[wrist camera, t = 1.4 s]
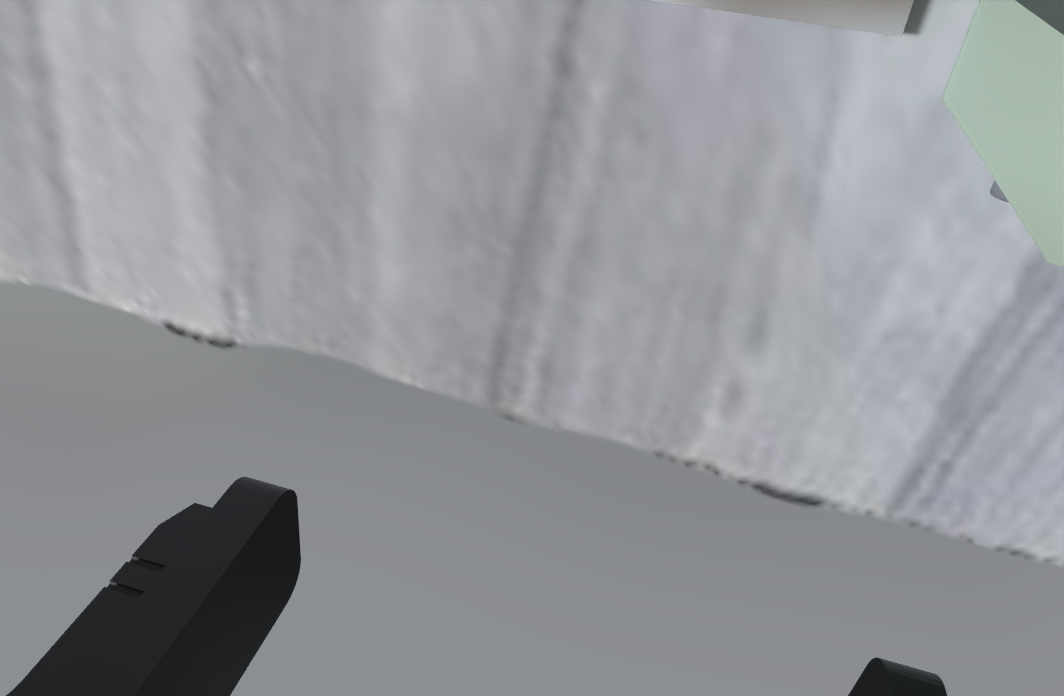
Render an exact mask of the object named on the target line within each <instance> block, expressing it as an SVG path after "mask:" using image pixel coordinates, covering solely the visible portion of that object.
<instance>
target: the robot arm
mask: <svg viewBox="0 0 1064 696" xmlns="http://www.w3.org/2000/svg"><path fill="white" fill-rule="evenodd" d="M297 506H298V505H297V496H296V493H295V492H294V491H293V490H290V489H287V488H283V487H279V486H276V485H273V484H269V483H265V482H262V481H259V480H255V479H252V478H248V477H241V478H239V479H237V480H236V481H235V482H234V483H233V484H232V485H231V486H230V487H229V488H228V490H227V491H226V492H225V493H224V494H223V496H222V497H221V498H220V499H219V501H218V502H217V503H216V504H215V506H214V507H213V508H210V507H207V506H204V505H200V504H196V503H194V504H192V505H191V506H189V507H188V508H186V509H184V510H183V511H181V512H179V513H178V514H176V515H174V516H173V517H171V518H170V519H168V520H166V521H165V522H163V523H161V524H160V525H158V527H157V528H156V529H155V530H154V531H153V532H152V533H151V534H150V536H149V537H148V538H147V539H146V540H145V541H144V543H143V544H142V545H141V546H140V547H139V548H138V549H137V550H136V552H135V553H134V554H133V555H132V559H131V561H130V562H126V563H125V564H124V565H123V566H122V568H121V569H120V570H119V571H118V572H117V573H116V574H115V575H114V577H113V578H112V579H111V580H110V584H109V586H108V587H107V588H106V587H104V588H103V589H102V590H101V591H100V593H99V594H98V595H97V596H96V597H95V599H94V600H93V601H92V602H91V603H90V604H89V605H88V606H87V608H86V609H85V610H84V611H83V612H82V613H81V614H80V615H79V617H78V618H77V619H76V620H75V621H74V622H73V623H72V624H71V626H70V627H69V628H68V629H67V630H66V631H65V632H64V634H63V635H62V636H61V637H60V638H59V639H58V640H57V642H56V643H55V644H54V645H53V646H52V647H51V648H50V650H49V651H48V652H47V653H46V654H45V655H44V656H43V658H42V659H41V660H40V661H39V662H38V663H37V664H36V666H35V667H34V668H33V669H32V670H31V671H30V672H29V674H28V675H27V676H26V677H25V678H24V679H23V680H22V681H21V682H20V683H19V684H18V685H17V686H16V687H15V688H14V690H12V691H11V692H10V693H9V694H8V695H6V696H230V694H231V693H232V691H233V690H234V688H235V686H236V685H237V683H238V681H239V680H240V678H241V677H242V675H243V674H244V672H245V670H246V669H247V667H248V666H249V664H250V662H251V660H252V659H253V657H254V656H255V654H256V653H257V651H258V649H259V648H260V646H261V645H262V643H263V641H264V640H265V638H266V636H267V635H268V633H269V631H270V630H271V629H272V627H273V625H274V624H275V622H276V620H277V618H278V617H279V616H280V614H281V612H282V611H283V609H284V607H285V606H286V604H287V603H288V600H289V599H290V597H291V595H292V592H293V590H294V588H295V585H296V582H297V579H298V575H299V570H300V563H301V555H300V538H299V521H298V507H297ZM848 696H947V694H946V690H945V687H944V684H943V682H942V680H941V679H940V677H938V675H936V674H933V673H930V672H926V671H922V670H919V669H916V668H912V667H909V666H905V665H901V664H898V663H894V662H891V661H887V660H884V659H880V658H874V659H872V660H871V661H870V662H869V663H868V665H867V666H866V668H865V669H864V671H863V673H862V674H861V676H860V677H859V679H858V681H857V682H856V684H855V686H854V687H853V689H852V690H851V692H850V694H849V695H848Z"/></svg>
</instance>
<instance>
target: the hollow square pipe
mask: <svg viewBox="0 0 1064 696" xmlns="http://www.w3.org/2000/svg"><path fill="white" fill-rule="evenodd" d="M942 99H943V101H944V102H945V104H946V105H947V107H948V108H949V110H950V111H951V113H952V115H953V116H954V118H955V119H956V121H957V122H958V124H959V125H960V127H961V128H962V130H963V132H964V133H965V135H966V136H967V138H968V139H969V141H970V142H971V144H972V146H973V147H974V149H975V150H976V152H977V153H978V155H979V156H980V158H981V159H982V161H983V163H984V164H985V166H986V167H987V169H988V170H989V172H990V173H991V175H992V177H993V178H994V180H995V181H994V183H993V185H992V188H991V190H990V193H991V195H993V196H994V197H996V198H998V199H1000V200H1003V201H1006V202H1009V203H1010V204H1011V206H1012V207H1013V209H1014V211H1015V212H1016V214H1017V215H1018V217H1019V218H1020V220H1021V221H1022V223H1023V225H1024V226H1025V228H1026V229H1027V231H1028V232H1029V234H1030V235H1031V237H1032V238H1033V240H1034V242H1035V243H1036V245H1037V246H1038V248H1039V249H1040V251H1041V252H1042V254H1043V256H1044V257H1045V259H1046V260H1047V262H1048V263H1049V264H1054V265H1059V266H1064V0H980V2H979V5H978V7H977V10H976V12H975V15H974V18H973V20H972V23H971V25H970V28H969V30H968V33H967V36H966V38H965V41H964V43H963V46H962V49H961V51H960V54H959V56H958V59H957V61H956V64H955V67H954V69H953V72H952V74H951V77H950V79H949V82H948V85H947V87H946V90H945V92H944V95H943V97H942Z"/></svg>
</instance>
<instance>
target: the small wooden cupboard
mask: <svg viewBox="0 0 1064 696" xmlns="http://www.w3.org/2000/svg"><path fill="white" fill-rule="evenodd" d="M653 1H660V2H667V3H674V4H681V5H687V6H694V7H701V8H708V9H715V10H722V11H729V12H735V13H742V14H749V15H756V16H763V17H770V18H777V19H783V20H790V21H797V22H804V23H811V24H818V25H825V26H831V27H838V28H845V29H852V30H859V31H866V32H872V33H879V34H886V35H893V36H900V37H902V34H903V31H904V28H905V25H906V23H907V20H908V17H909V14H910V11H911V8H912V5H913V2H914V0H653Z"/></svg>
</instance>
